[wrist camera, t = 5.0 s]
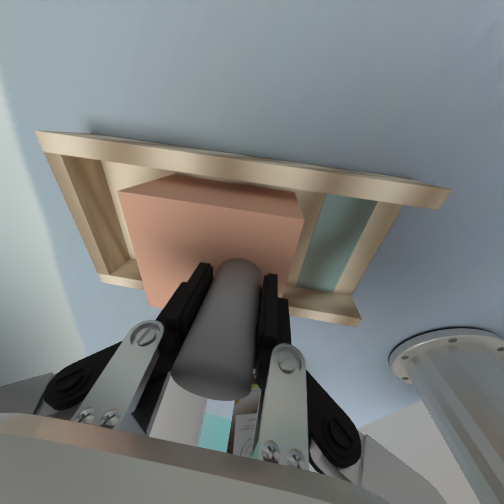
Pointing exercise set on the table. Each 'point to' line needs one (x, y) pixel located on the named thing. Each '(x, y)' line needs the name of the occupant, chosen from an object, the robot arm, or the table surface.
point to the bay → (246, 173)
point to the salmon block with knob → (224, 267)
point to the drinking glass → (179, 416)
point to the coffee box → (244, 422)
